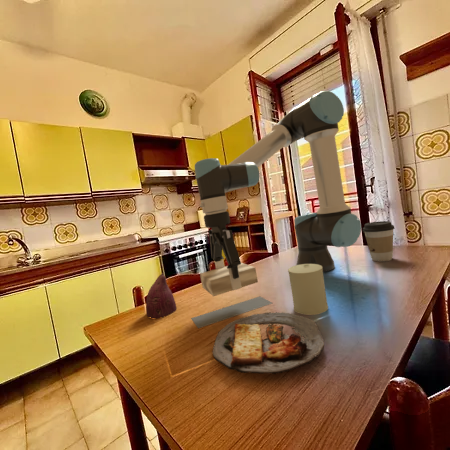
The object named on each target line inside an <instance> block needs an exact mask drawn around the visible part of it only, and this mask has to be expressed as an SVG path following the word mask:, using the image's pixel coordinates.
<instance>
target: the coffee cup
mask: <svg viewBox="0 0 450 450" xmlns="http://www.w3.org/2000/svg"><path fill="white" fill-rule="evenodd" d="M394 229H395V225H394V224H392V221H387V220H386V221H385V220H384V221H383V220H381V221H371V222H367V223H365V224H364V227H362V232H363V233H364V236H365V240H366V242H367V247H368V250H369V254H370V258H371V260H372V261H374V262H388V261H392V260H393V256H394V255H393V254H394V253H393V251H394V250H393V249H394Z"/></svg>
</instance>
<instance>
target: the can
mask: <svg viewBox="0 0 450 450" xmlns="http://www.w3.org/2000/svg"><path fill="white" fill-rule="evenodd" d="M287 272H288V275H289V281H290V283H289V284H290V289H291V296H292V301H293V302H292V303H293V310H294V312H296V313H298V314H299V315H300V314H301V315H306V316H309V315H311V316H315V315H320V314H323V313H325V312H326V311H328V309H329V305H328V301H327V300H328V299H327V293H326V286H325V278H324V272H323V269H322V266H321V265H318V264H301V265H296V264H295V265H293V266H290V267H289V268H288V269H287Z"/></svg>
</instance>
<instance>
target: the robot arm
mask: <svg viewBox="0 0 450 450" xmlns="http://www.w3.org/2000/svg"><path fill="white" fill-rule="evenodd" d="M344 113H345V109H344V105H343V102H342V101H341V99H340V97H338V96H337V95H336V94H335V93H334V92H332V91H329V90H322V91H319V92H317V93H316V94H313V95H311V97H309V98H308V99H307V100H305V101H303V102H302V103H300V104H299V105H297V106H295V107H294V108H292V109H291V110H290V111H289V112H288V113H286V115H285V116H283V118H281V119H280V120H279V121H278V122H277V123H276V124H275V125H273V126H272V128H271V131H270V132H269V133H267V134H266V135H265V136H263V137H262V138H261V139H260V140H258V141H257V142H256V143H254V144H253V145H252V146H250V147H249V148H248V149H246V150H245V151H244V152H243V153H241V154H240V155H239V156H237V157H236V158H234V159H233V160H232V161H230V162H229V163H228V164H221V163H220V160H219V158H213V157H211V158H205V159H201V160H198V161H196V162H195V163H194V174H195V180H196V185H197V189H198V194H199V199H200V204H199V207H200V208H201V209H202V213H203V214H205V215H204V216H203V220H204V226H205V228H207V229H208V228H209V230H208V236H209V246H210V254H211V255H210V257H211V259H212V260H213V261H214V265H215V269H218V268H222V267H225V263H224V259H225V260H226V262H227V265H226V266H227V269H228V271H229V276H230V281H231V287H232V291H236V290H239V289H243V287H242V286H241V281H240V276H239V270H238V265H240V264H241V263H242V262H241V259H240V255H239V253H238V250H237V247H236V243H235V240H234V236H233V230H232V229H227V227H226V225H230V223H231V218H230V217H231V216H230V213H229V211H228V209H229V205H228V202H227V196H226V193H228V192H232V191H235V190H240V189H242V188H243V189H245V188H250V187H254V186H256V185H258V183H259V181H260V170H259V167H260V166H261V165H263V164H264V163H266V162H267V161H268V160H269V159H270V158H271V157H273V156H274V155H275V154H277V153H278V152H279V151H280V150H281V149H283V148H288V147H289V146H290V145H292V144H293V143H295V142H298V141H299V140H302V139H303V140H304V141H306V142H308V144H309V147H310V154H311V160H312V165H313V173H314V179H315V185H316V192H317V198H318V206H319V208H318V210H317V211H316V212H311V213H308V214H303V215H298V216H296V217H294V233H295V237H296V243H297V250H298V253H297V261H296V264H295V266H296V265H301V264H318V265H321V266H322V269H323V273H325V272H329V271H333V269H335V267H336V266H335V260H334V259H333V257H332V255H331V253H330V251H329V247H336V248H342V247H343V248H347V247H351V246H353V245H354V244H355V243H356V242H357V241H358V238H360V235H361V233H362V223H361V220H360V218H358V216H357V215H356V214H353V213H352V209H351V206H349V205H348V204H347V203H346V201H345V195H344V194H345V193H344V187H343V182H342V181H343V180H342V175H341V174H342V173H341V168H340V162H339V155H338V149H337V142H336V135H337V133H338V132H339V123H340V122H341V121H342V119H343V116H344ZM210 228H211V229H210ZM223 254H224V256H223ZM224 257H225V258H224Z"/></svg>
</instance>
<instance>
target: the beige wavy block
mask: <svg viewBox="0 0 450 450" xmlns="http://www.w3.org/2000/svg"><path fill="white" fill-rule="evenodd" d="M227 266H228V265H226V266H225V265H224V267H222V268H218V269H216V268H215V269H211V270H208V271H205V272H201V273H199V277H200V281H201V285H202V289H203V290H205V291H206V292H207V293H208V294H210V295H211V296H212V297H216V296H219V295H223V294H226V293H229V292H232V291H233V290H232V287H231V281H230V276H229V271H228V269H227ZM238 270H239V276H240V281H241V286H242V288H245V287H247V286H251V285H254V284H256V283H259V281H258V276H257V270H256V267H255V266H253V265H249V264H247V263H243V262H241V264H240V265H238Z"/></svg>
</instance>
